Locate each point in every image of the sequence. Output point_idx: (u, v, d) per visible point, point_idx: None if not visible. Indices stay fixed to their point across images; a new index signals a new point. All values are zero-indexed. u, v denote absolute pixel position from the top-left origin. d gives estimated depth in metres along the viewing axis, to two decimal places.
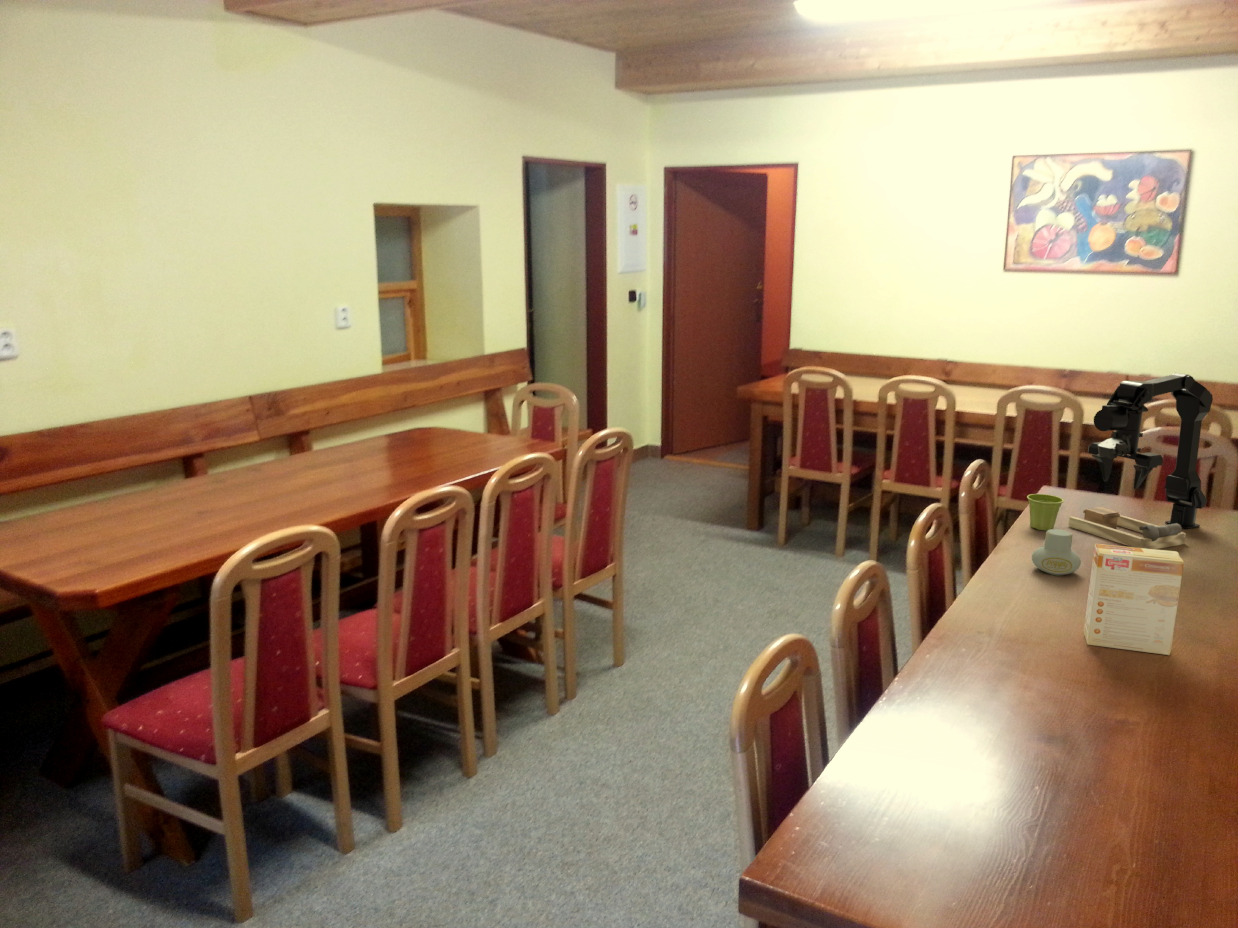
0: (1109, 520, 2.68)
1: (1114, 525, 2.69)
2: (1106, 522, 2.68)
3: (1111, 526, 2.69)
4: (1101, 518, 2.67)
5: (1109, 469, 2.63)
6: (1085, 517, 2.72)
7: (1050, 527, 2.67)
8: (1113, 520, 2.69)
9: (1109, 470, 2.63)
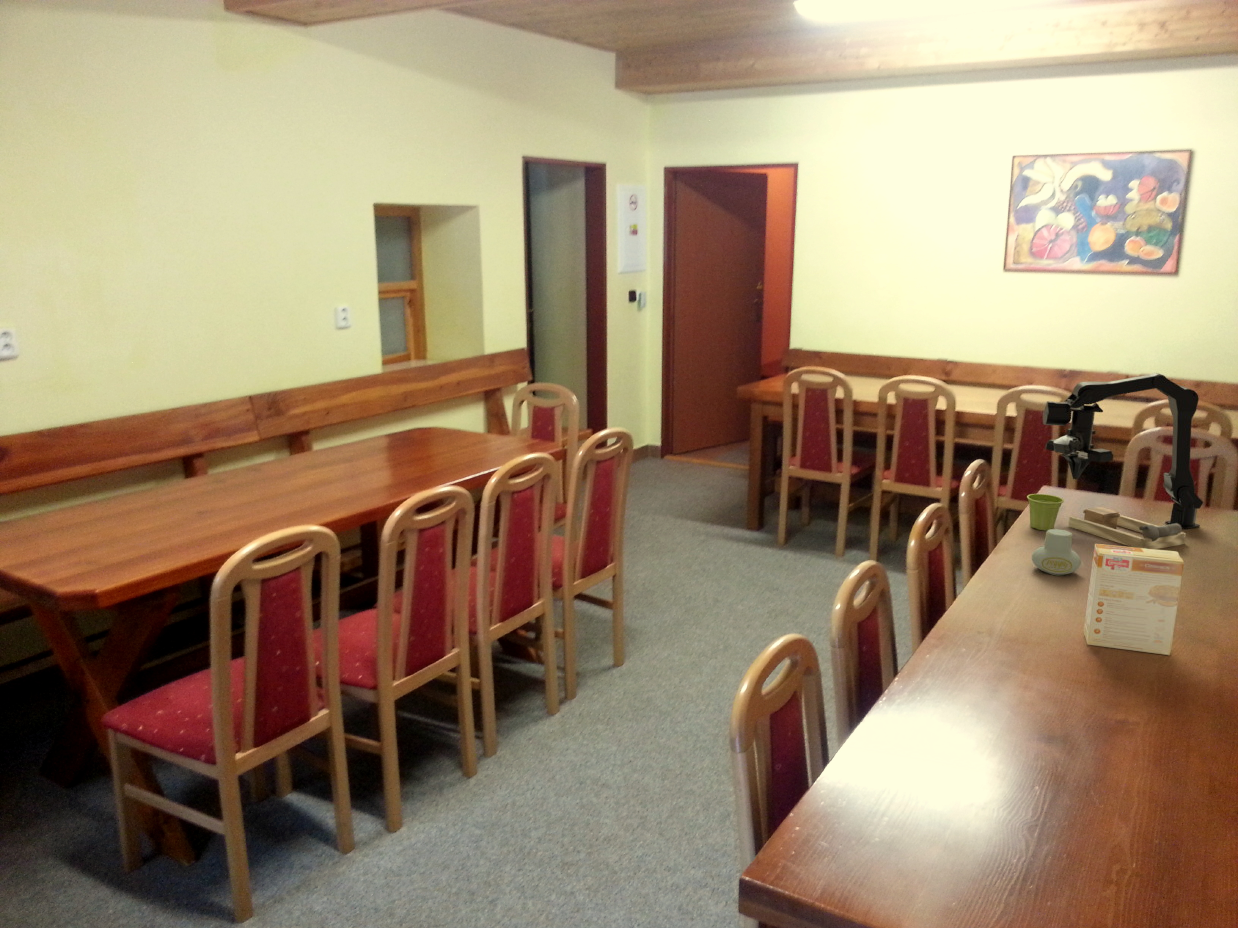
0: (1109, 520, 2.68)
1: (1114, 525, 2.69)
2: (1106, 522, 2.68)
3: (1111, 526, 2.69)
4: (1101, 518, 2.67)
5: None
6: (1085, 517, 2.72)
7: (1050, 527, 2.67)
8: (1113, 520, 2.69)
9: None
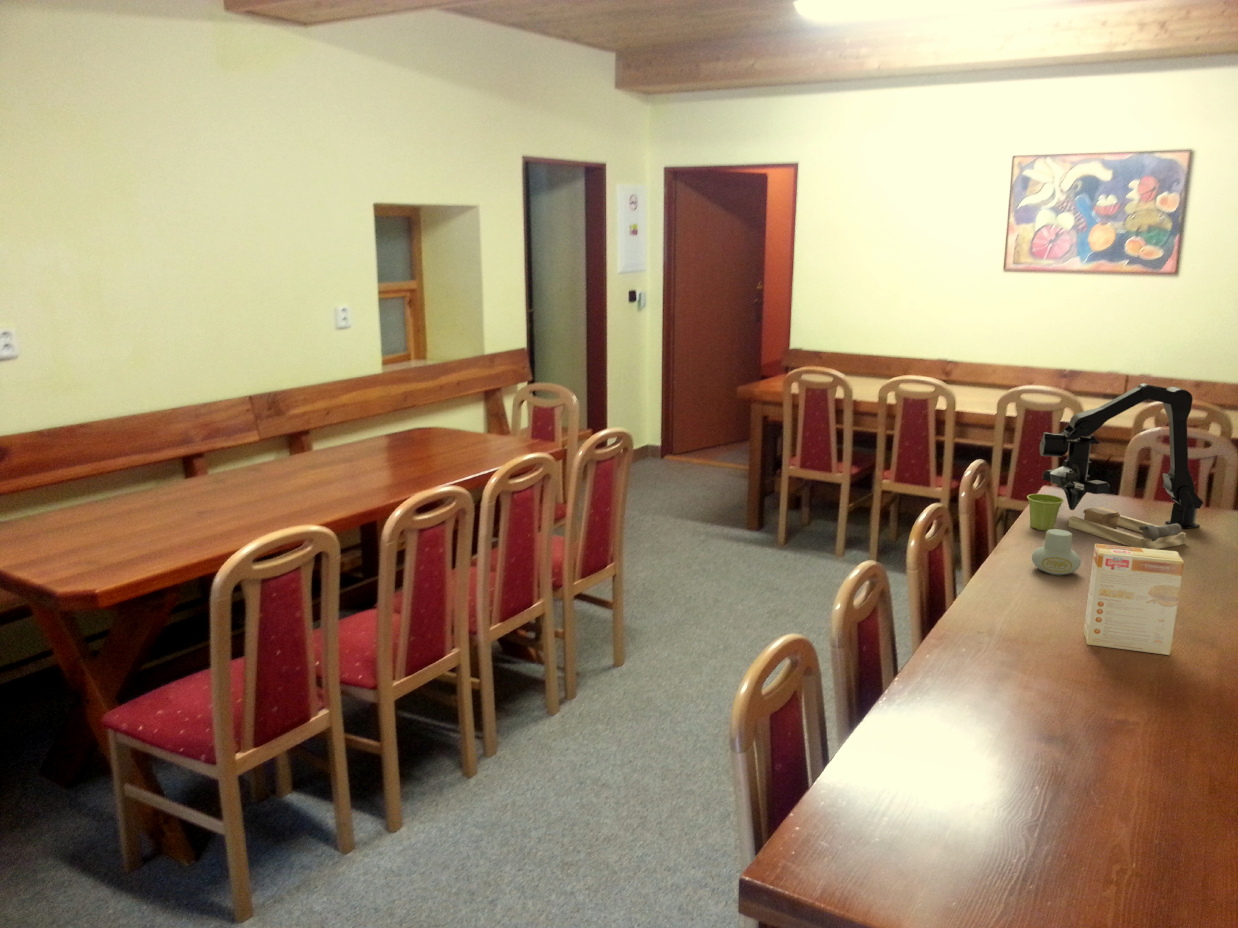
0: (1109, 520, 2.68)
1: (1114, 525, 2.69)
2: (1106, 522, 2.68)
3: (1111, 526, 2.69)
4: (1101, 518, 2.67)
5: None
6: (1085, 517, 2.72)
7: (1050, 527, 2.67)
8: (1113, 520, 2.69)
9: None
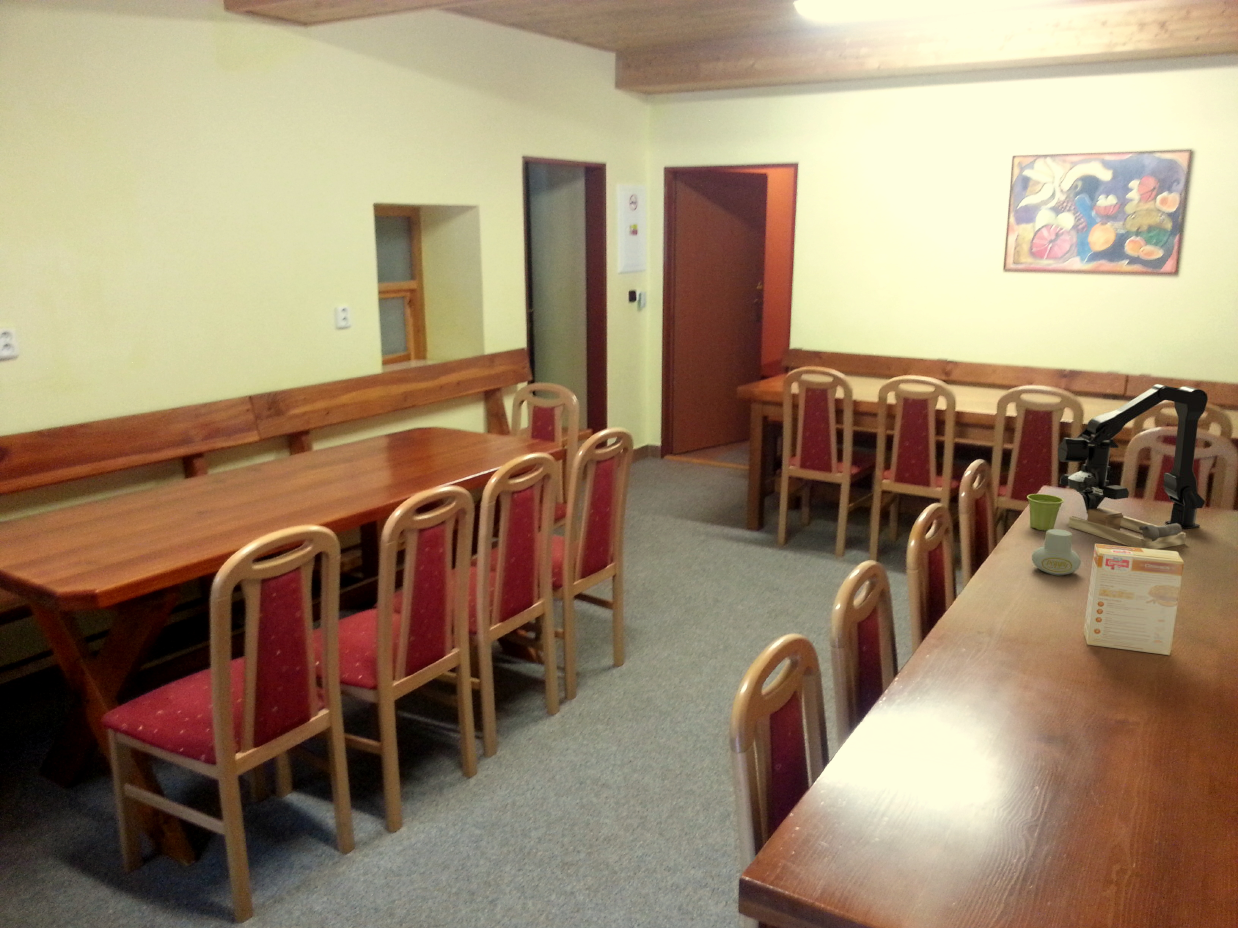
0: (1112, 521, 2.67)
1: (1117, 526, 2.68)
2: (1109, 523, 2.66)
3: (1114, 527, 2.68)
4: (1104, 519, 2.66)
5: None
6: (1088, 518, 2.71)
7: (1050, 527, 2.67)
8: (1116, 521, 2.68)
9: None
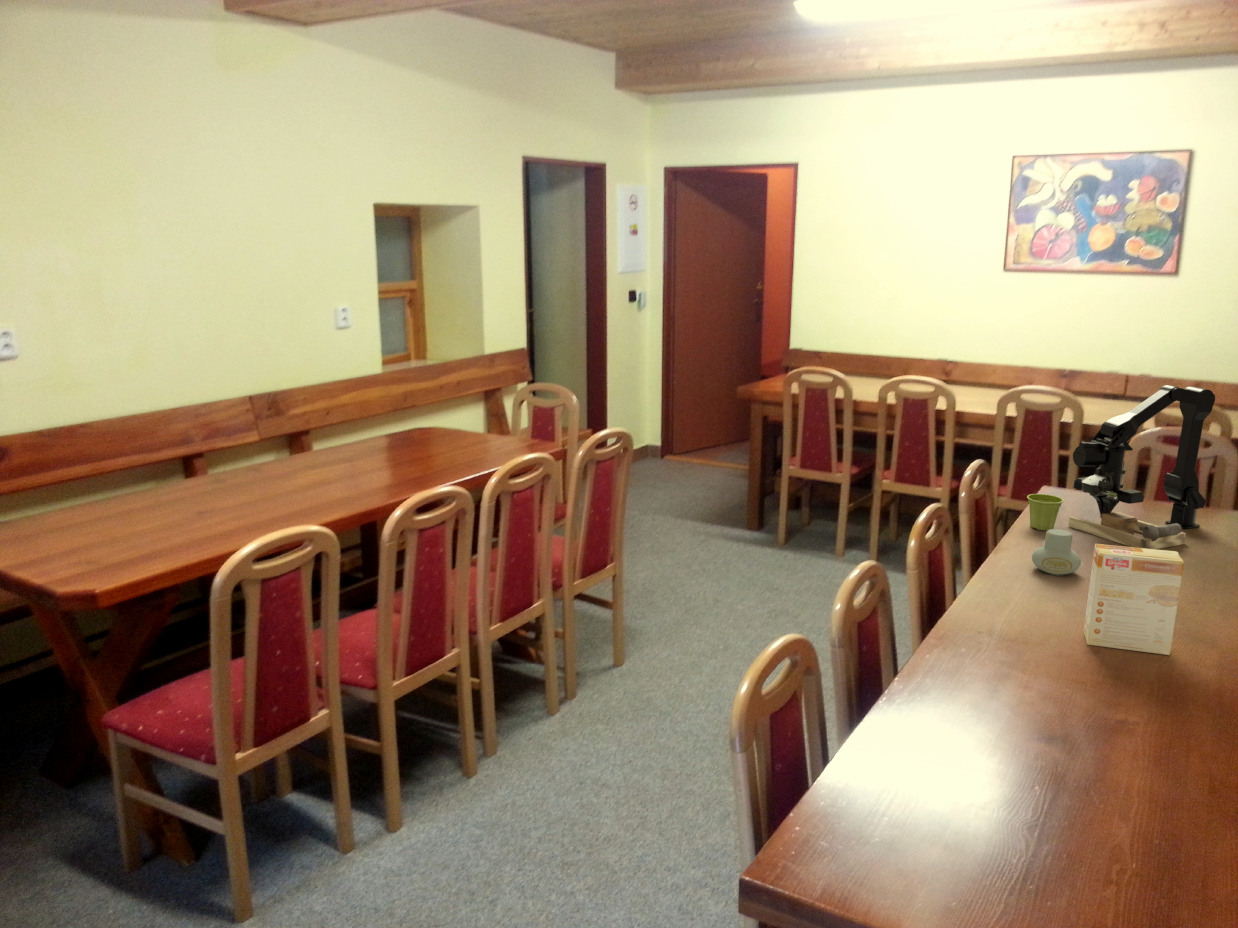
0: (1126, 525, 2.63)
1: (1131, 530, 2.64)
2: (1123, 527, 2.62)
3: (1128, 531, 2.63)
4: (1117, 523, 2.62)
5: None
6: (1102, 522, 2.67)
7: (1050, 527, 2.67)
8: (1130, 525, 2.63)
9: None
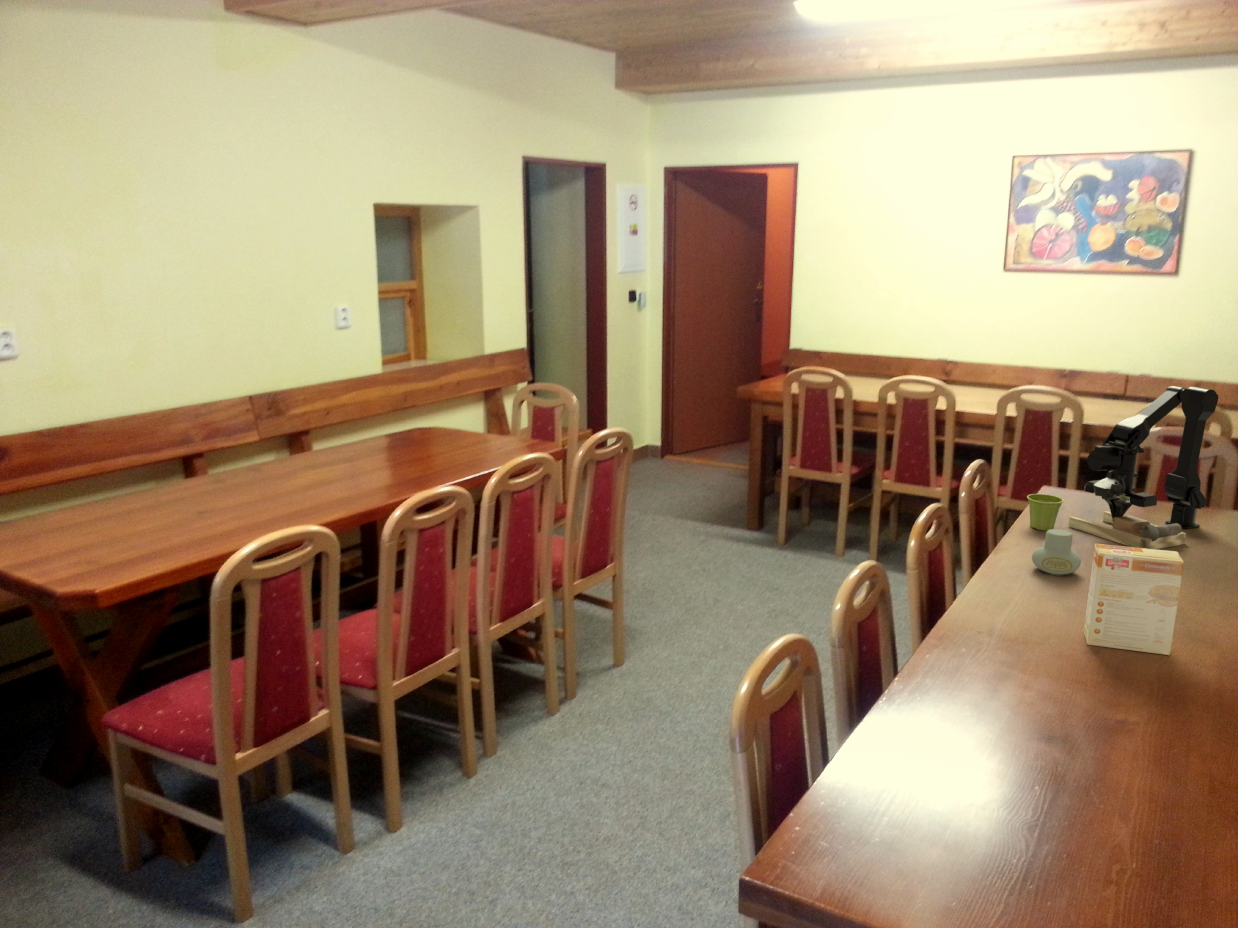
0: (1139, 529, 2.59)
1: None
2: (1135, 531, 2.59)
3: (1141, 535, 2.60)
4: (1130, 527, 2.59)
5: None
6: (1114, 526, 2.63)
7: (1050, 527, 2.67)
8: None
9: None
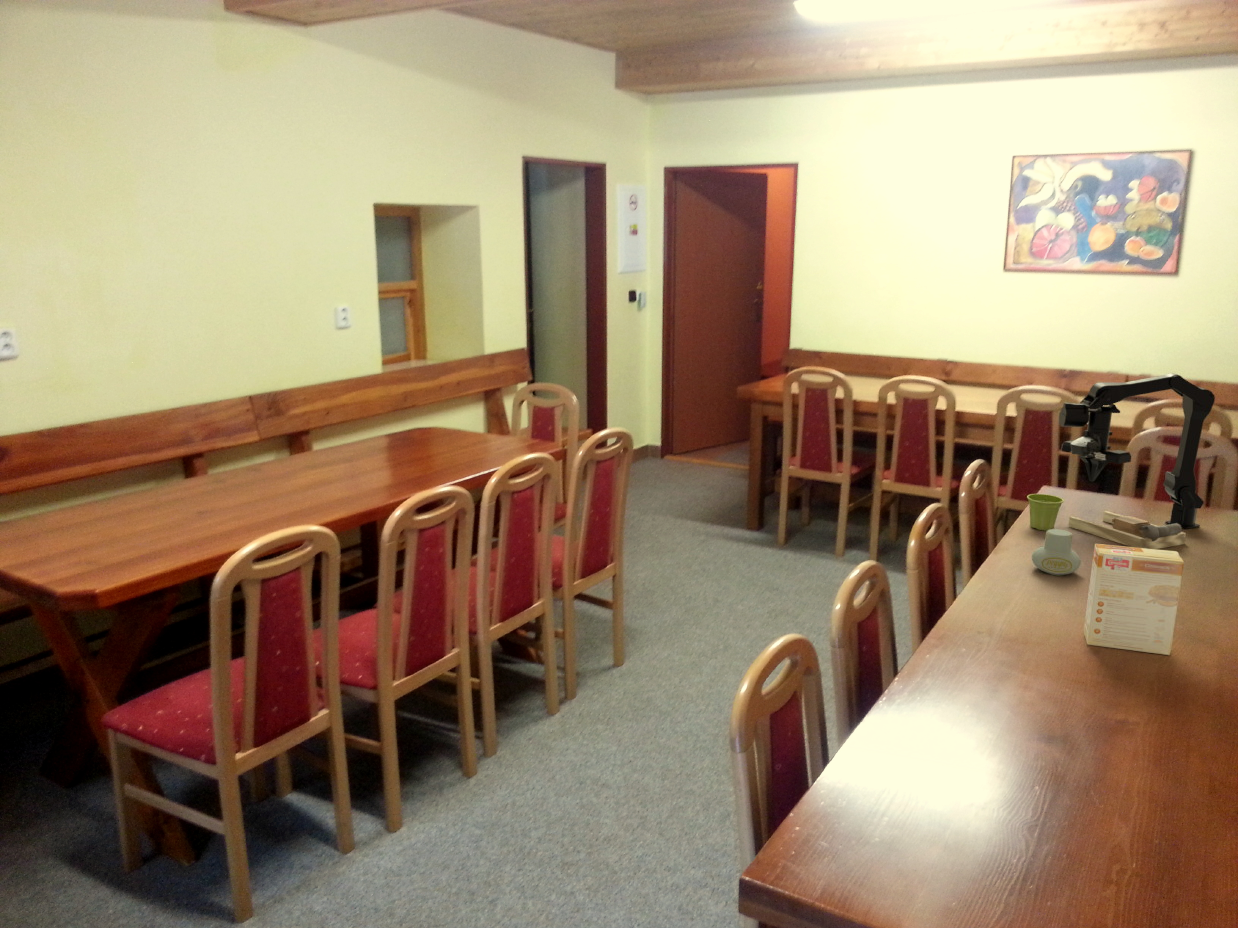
0: (1139, 530, 2.59)
1: None
2: (1135, 532, 2.59)
3: (1141, 536, 2.60)
4: (1130, 528, 2.59)
5: None
6: (1114, 526, 2.63)
7: (1050, 527, 2.67)
8: None
9: None
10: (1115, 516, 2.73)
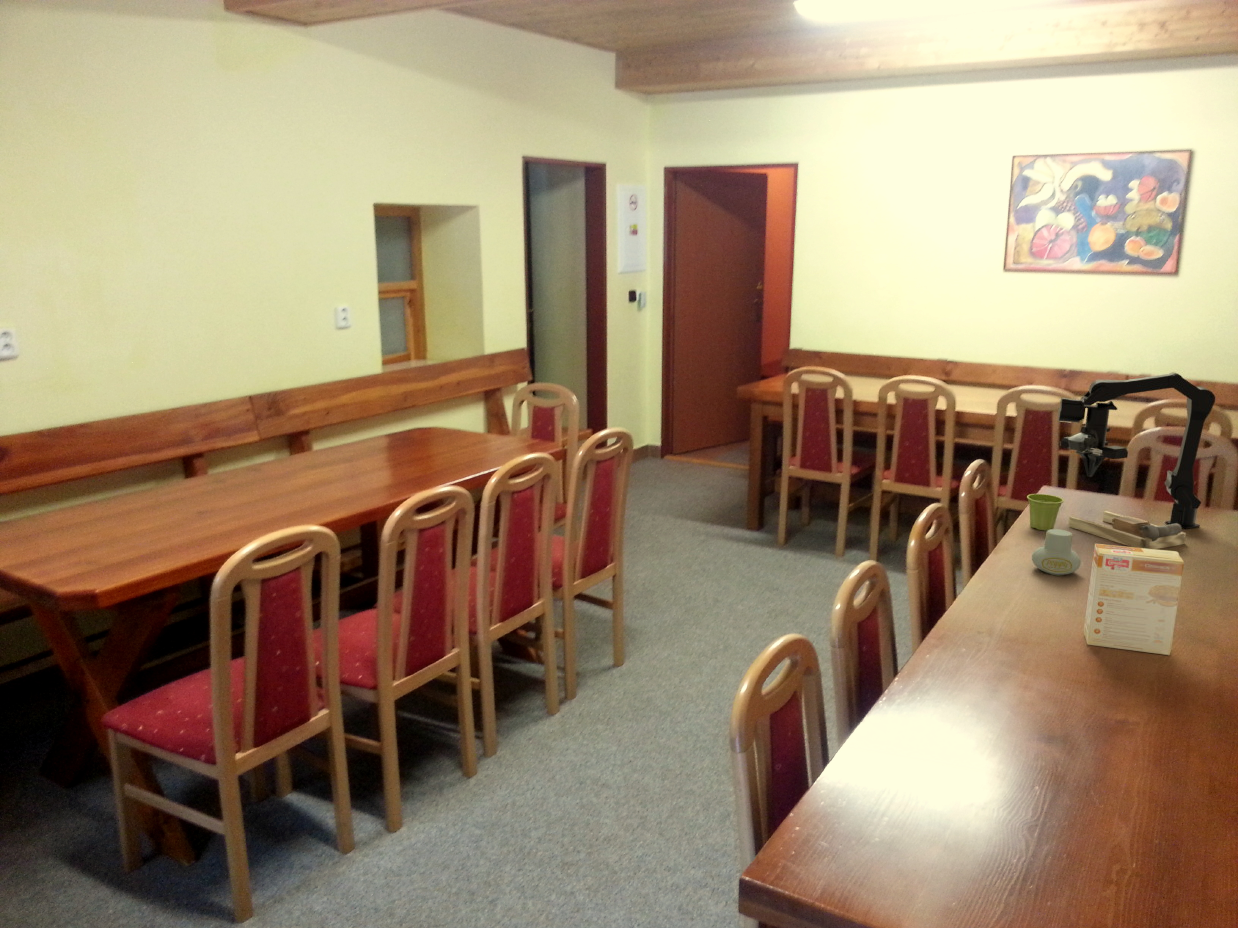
0: (1139, 530, 2.59)
1: None
2: (1135, 532, 2.59)
3: (1141, 536, 2.60)
4: (1130, 528, 2.59)
5: None
6: (1114, 526, 2.63)
7: (1050, 527, 2.67)
8: None
9: None
10: (1115, 516, 2.73)
